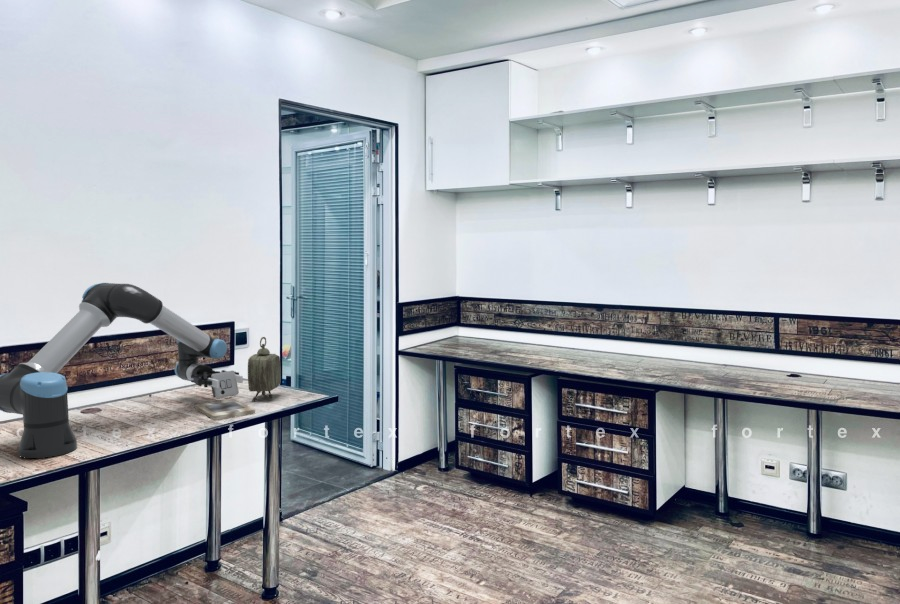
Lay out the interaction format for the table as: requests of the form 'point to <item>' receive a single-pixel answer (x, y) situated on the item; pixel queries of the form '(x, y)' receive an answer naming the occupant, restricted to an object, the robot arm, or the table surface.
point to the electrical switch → (225, 384)
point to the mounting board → (224, 409)
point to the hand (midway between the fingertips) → (229, 381)
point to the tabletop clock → (263, 371)
